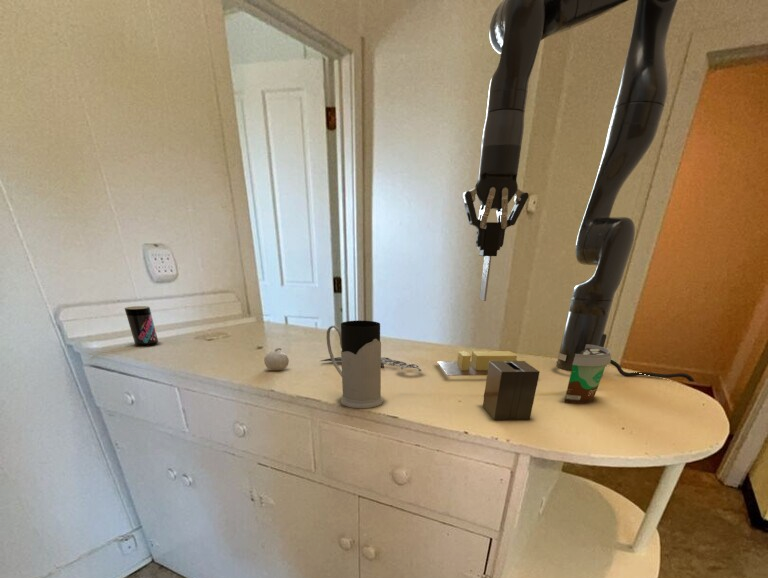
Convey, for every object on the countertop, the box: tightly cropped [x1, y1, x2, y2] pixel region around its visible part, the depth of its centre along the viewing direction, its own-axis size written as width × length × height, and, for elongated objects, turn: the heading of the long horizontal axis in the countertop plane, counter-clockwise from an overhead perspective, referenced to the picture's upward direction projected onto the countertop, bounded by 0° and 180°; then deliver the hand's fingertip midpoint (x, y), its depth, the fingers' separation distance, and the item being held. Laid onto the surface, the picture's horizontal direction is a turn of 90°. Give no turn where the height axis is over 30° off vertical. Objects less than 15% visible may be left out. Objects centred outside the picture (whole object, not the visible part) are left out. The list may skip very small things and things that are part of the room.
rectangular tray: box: [437, 360, 488, 377], centre depth 109 cm, size 22×14×1 cm, turn 94°
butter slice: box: [456, 350, 472, 370], centre depth 107 cm, size 2×5×4 cm, turn 4°
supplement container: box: [124, 305, 159, 347], centre depth 129 cm, size 7×7×10 cm
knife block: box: [482, 360, 541, 421], centre depth 81 cm, size 7×8×9 cm
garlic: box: [263, 347, 290, 372], centre depth 108 cm, size 6×5×5 cm
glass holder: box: [326, 320, 384, 409], centre depth 86 cm, size 9×14×15 cm, turn 47°
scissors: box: [320, 356, 423, 372], centre depth 112 cm, size 28×2×10 cm
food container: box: [563, 344, 612, 404], centre depth 89 cm, size 12×6×10 cm, turn 148°
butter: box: [470, 350, 517, 370], centre depth 108 cm, size 10×5×4 cm, turn 94°
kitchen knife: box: [479, 221, 501, 302], centre depth 93 cm, size 3×4×15 cm
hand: (488, 249), depth 92 cm, fingers closed on kitchen knife, 3 cm apart
